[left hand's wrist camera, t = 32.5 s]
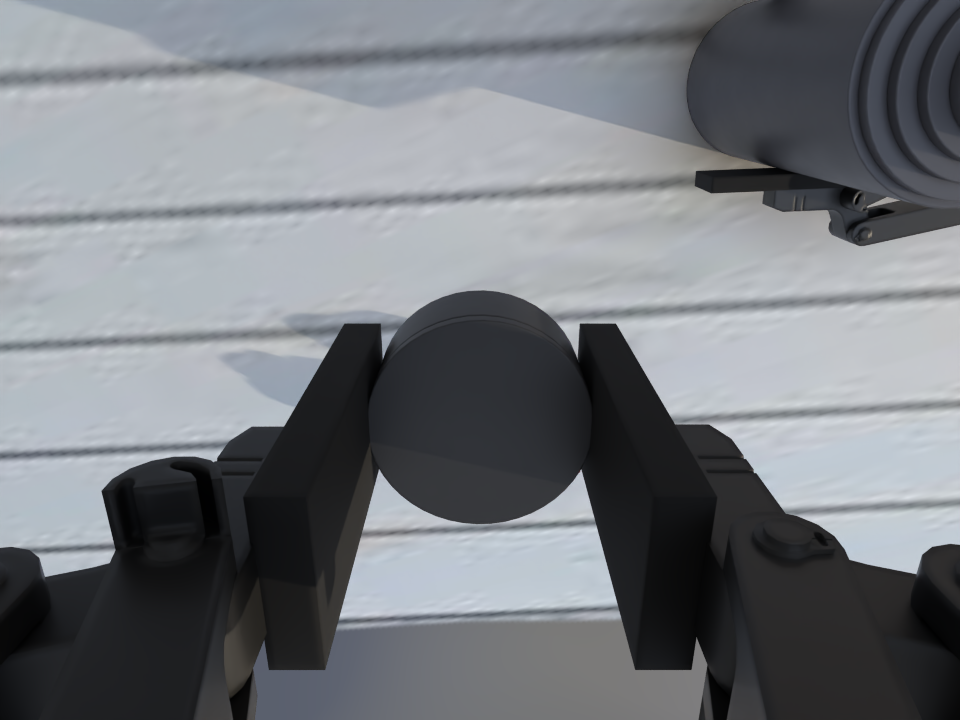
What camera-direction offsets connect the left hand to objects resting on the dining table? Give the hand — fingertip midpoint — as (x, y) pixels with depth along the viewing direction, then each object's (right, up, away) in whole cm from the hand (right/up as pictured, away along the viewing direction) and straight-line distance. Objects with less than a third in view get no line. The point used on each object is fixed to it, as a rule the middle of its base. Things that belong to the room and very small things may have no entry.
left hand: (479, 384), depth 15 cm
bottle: (+16, +16, +23) cm, 32 cm away
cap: (0, -1, -2) cm, 2 cm away
